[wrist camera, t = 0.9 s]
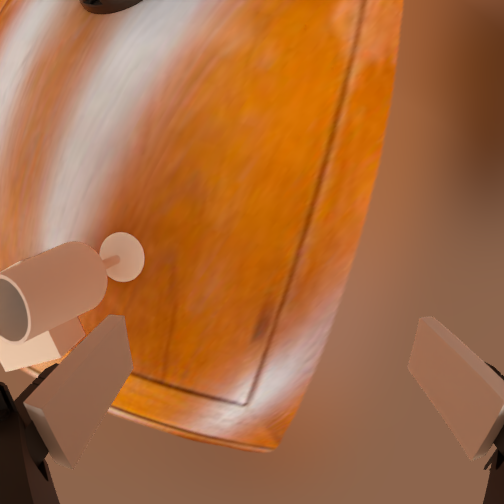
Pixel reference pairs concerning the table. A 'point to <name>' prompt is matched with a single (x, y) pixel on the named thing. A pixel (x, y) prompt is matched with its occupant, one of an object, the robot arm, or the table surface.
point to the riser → (41, 345)
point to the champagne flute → (63, 284)
